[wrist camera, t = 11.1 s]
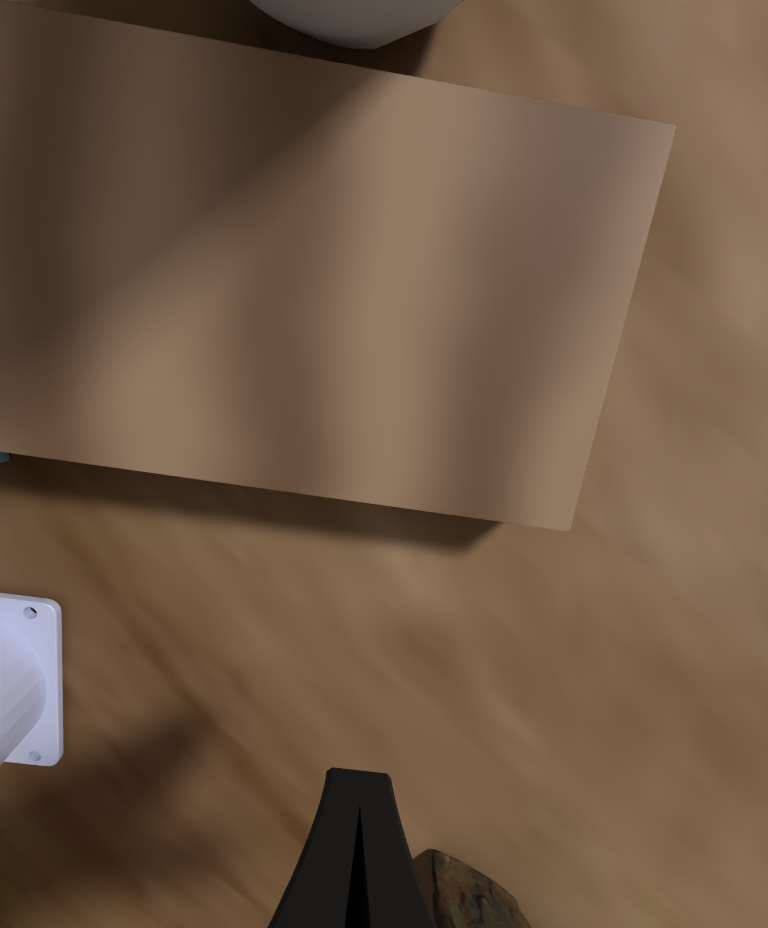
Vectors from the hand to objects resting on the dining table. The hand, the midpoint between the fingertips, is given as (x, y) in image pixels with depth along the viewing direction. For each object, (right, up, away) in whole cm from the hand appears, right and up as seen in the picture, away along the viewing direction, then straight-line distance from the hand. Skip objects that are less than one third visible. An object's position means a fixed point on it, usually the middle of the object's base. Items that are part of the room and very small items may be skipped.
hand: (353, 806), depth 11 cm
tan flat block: (-2, +13, +6) cm, 15 cm away
